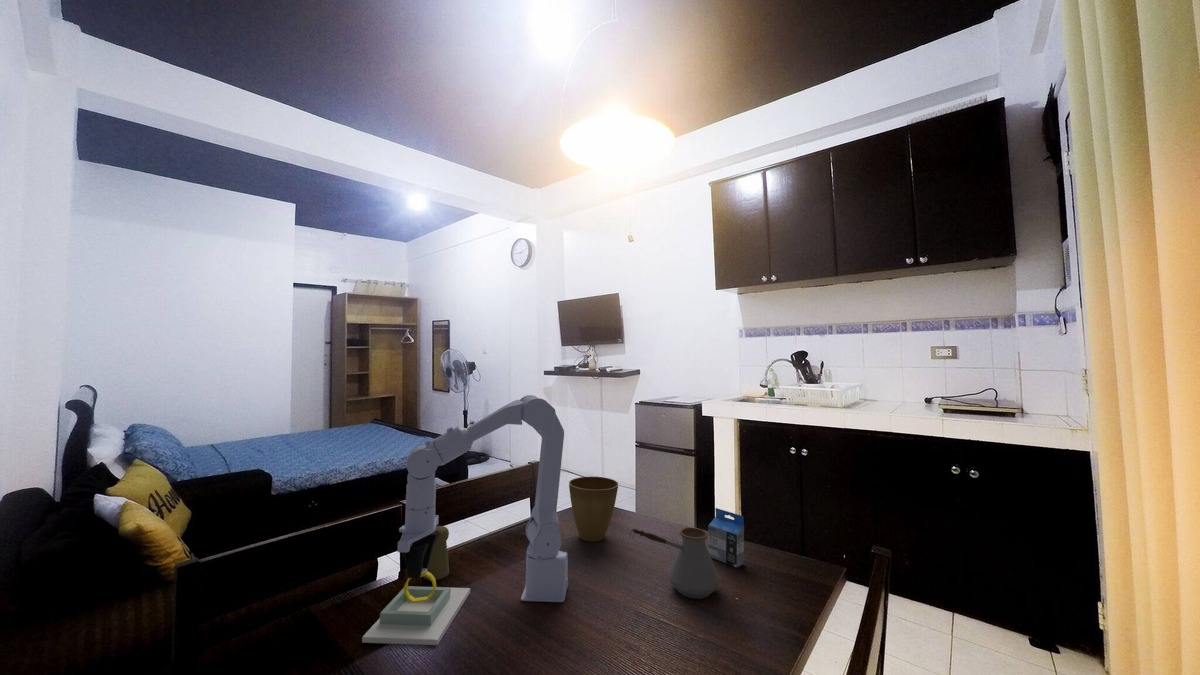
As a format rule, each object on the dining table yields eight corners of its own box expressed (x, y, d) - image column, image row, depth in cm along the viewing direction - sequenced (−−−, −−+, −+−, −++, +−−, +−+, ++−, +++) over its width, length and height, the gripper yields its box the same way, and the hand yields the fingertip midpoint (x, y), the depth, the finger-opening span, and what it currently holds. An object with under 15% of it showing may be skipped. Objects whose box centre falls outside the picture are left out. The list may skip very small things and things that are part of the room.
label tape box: (707, 556, 117) (707, 510, 117) (715, 552, 119) (715, 507, 120) (736, 568, 110) (736, 519, 111) (744, 563, 113) (744, 515, 114)
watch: (436, 596, 90) (437, 566, 90) (433, 603, 87) (434, 573, 88) (406, 598, 89) (407, 568, 90) (402, 605, 87) (403, 574, 87)
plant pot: (600, 552, 119) (600, 492, 120) (557, 539, 127) (558, 483, 128) (626, 534, 131) (627, 480, 132) (586, 523, 139) (587, 473, 140)
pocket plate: (470, 592, 97) (470, 579, 97) (437, 645, 79) (437, 628, 79) (408, 590, 97) (409, 577, 98) (362, 642, 79) (363, 625, 80)
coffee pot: (703, 574, 107) (703, 512, 108) (729, 599, 96) (729, 530, 97) (621, 585, 101) (622, 520, 102) (638, 613, 90) (639, 539, 91)
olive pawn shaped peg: (440, 581, 102) (442, 533, 102) (417, 578, 103) (419, 531, 104) (454, 569, 108) (455, 524, 108) (432, 566, 109) (433, 522, 109)
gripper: (417, 494, 97) (415, 556, 96) (383, 517, 82) (380, 591, 82) (448, 495, 97) (446, 557, 96) (419, 518, 82) (416, 592, 81)
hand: (418, 573), depth 89 cm, fingers closed on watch, 3 cm apart
